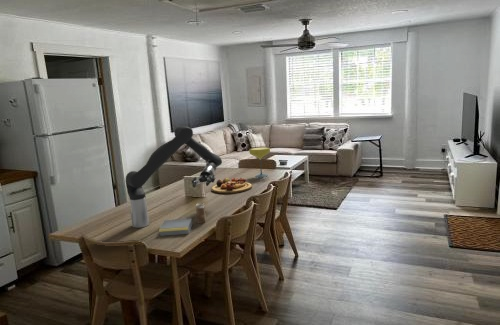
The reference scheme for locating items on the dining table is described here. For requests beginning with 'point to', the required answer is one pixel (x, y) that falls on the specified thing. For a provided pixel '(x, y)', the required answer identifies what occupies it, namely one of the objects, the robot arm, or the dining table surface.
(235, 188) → the wooden plate with food
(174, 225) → the dock
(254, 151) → the cocktail glass
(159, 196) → the dining table surface
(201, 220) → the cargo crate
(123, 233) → the dining table surface
